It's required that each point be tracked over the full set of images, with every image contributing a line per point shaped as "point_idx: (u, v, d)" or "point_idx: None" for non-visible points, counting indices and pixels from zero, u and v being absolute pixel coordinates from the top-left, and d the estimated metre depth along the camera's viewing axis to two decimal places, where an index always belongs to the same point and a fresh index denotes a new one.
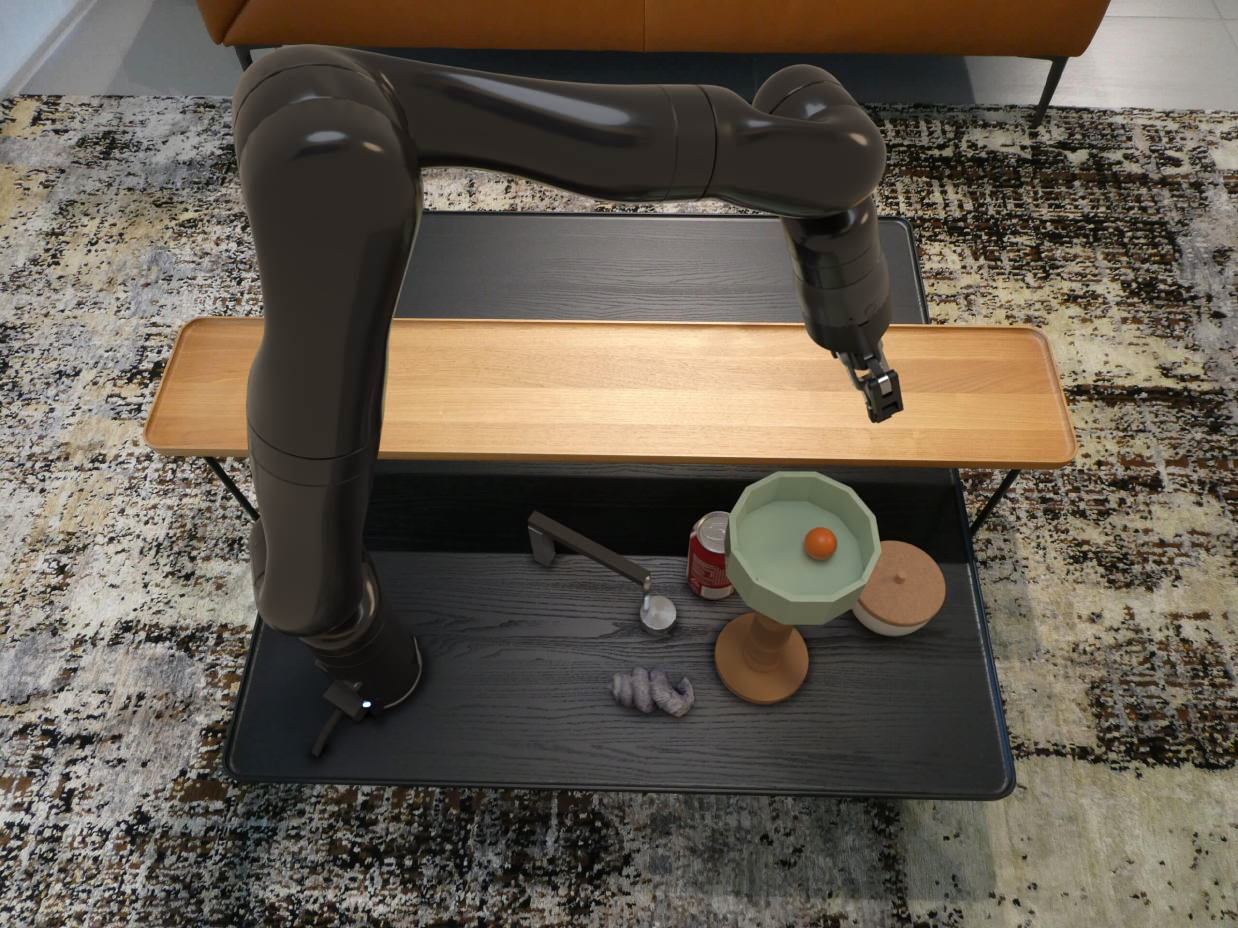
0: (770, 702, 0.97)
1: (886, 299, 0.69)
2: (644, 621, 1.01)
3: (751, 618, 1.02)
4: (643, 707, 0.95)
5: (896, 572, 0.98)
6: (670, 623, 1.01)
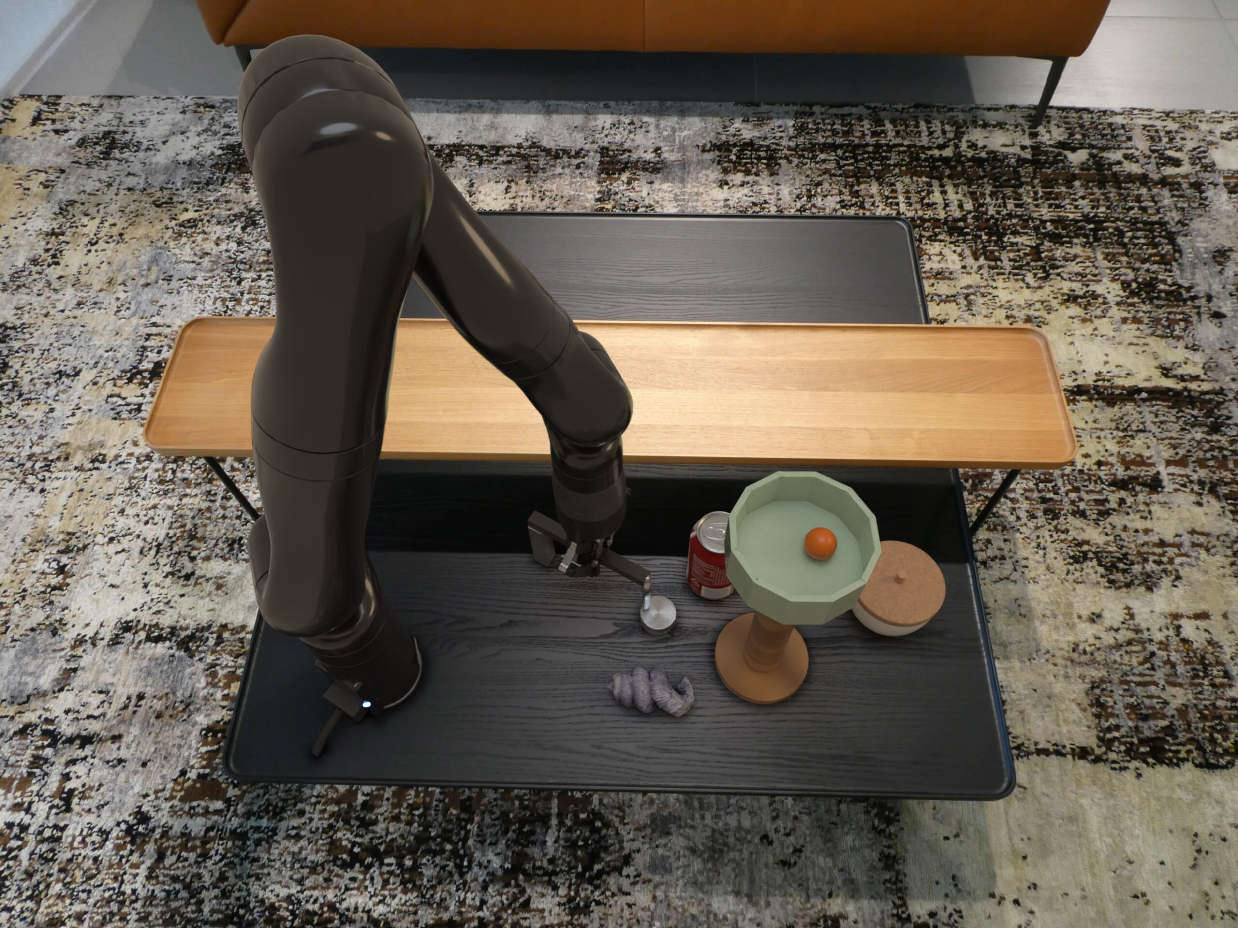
0: (770, 702, 0.97)
1: (597, 521, 0.85)
2: (644, 621, 1.01)
3: (751, 618, 1.02)
4: (643, 707, 0.95)
5: (896, 572, 0.98)
6: (670, 623, 1.01)
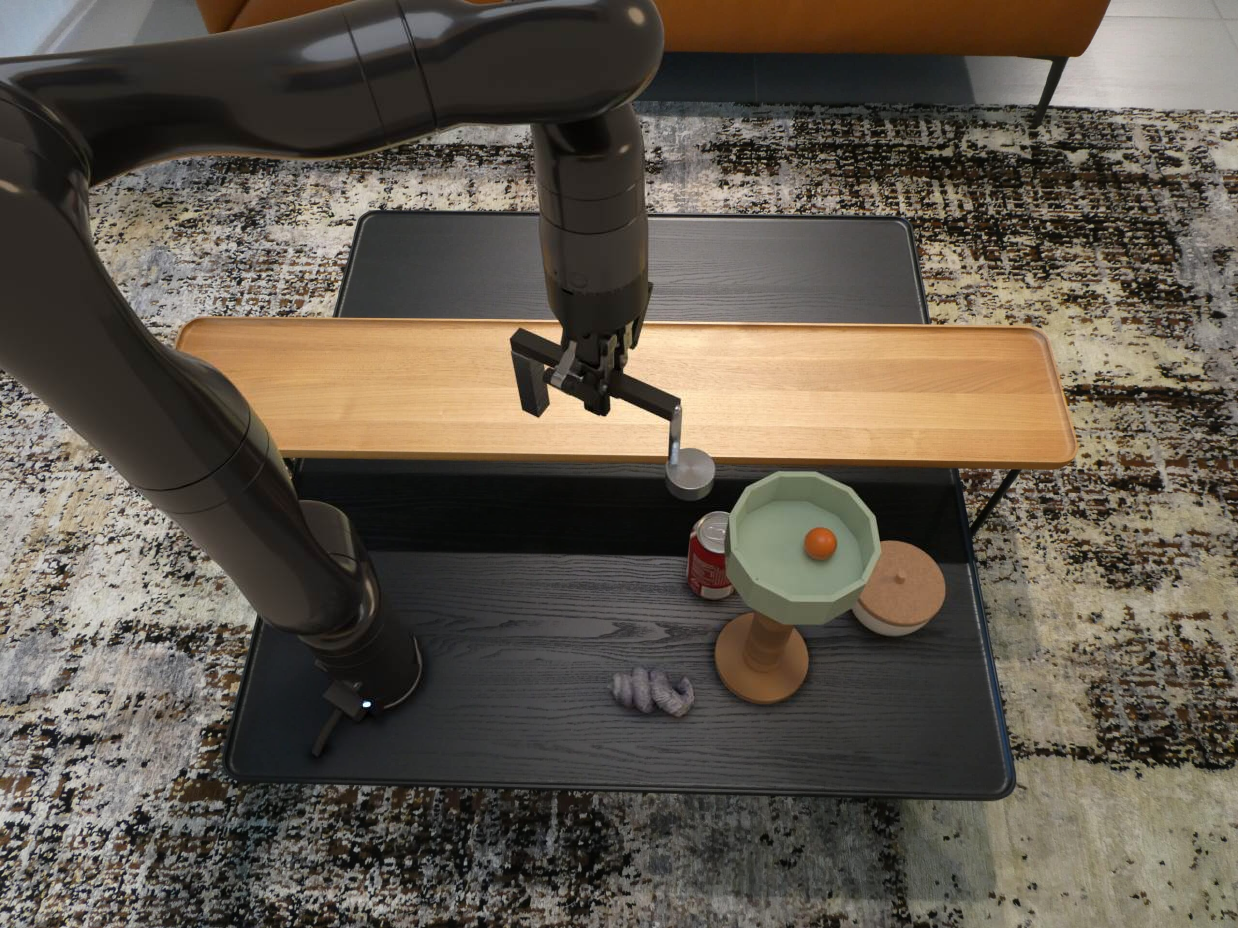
0: (770, 702, 0.97)
1: (606, 293, 0.58)
2: (671, 479, 0.74)
3: (751, 618, 1.02)
4: (643, 707, 0.95)
5: (896, 572, 0.98)
6: (707, 481, 0.74)
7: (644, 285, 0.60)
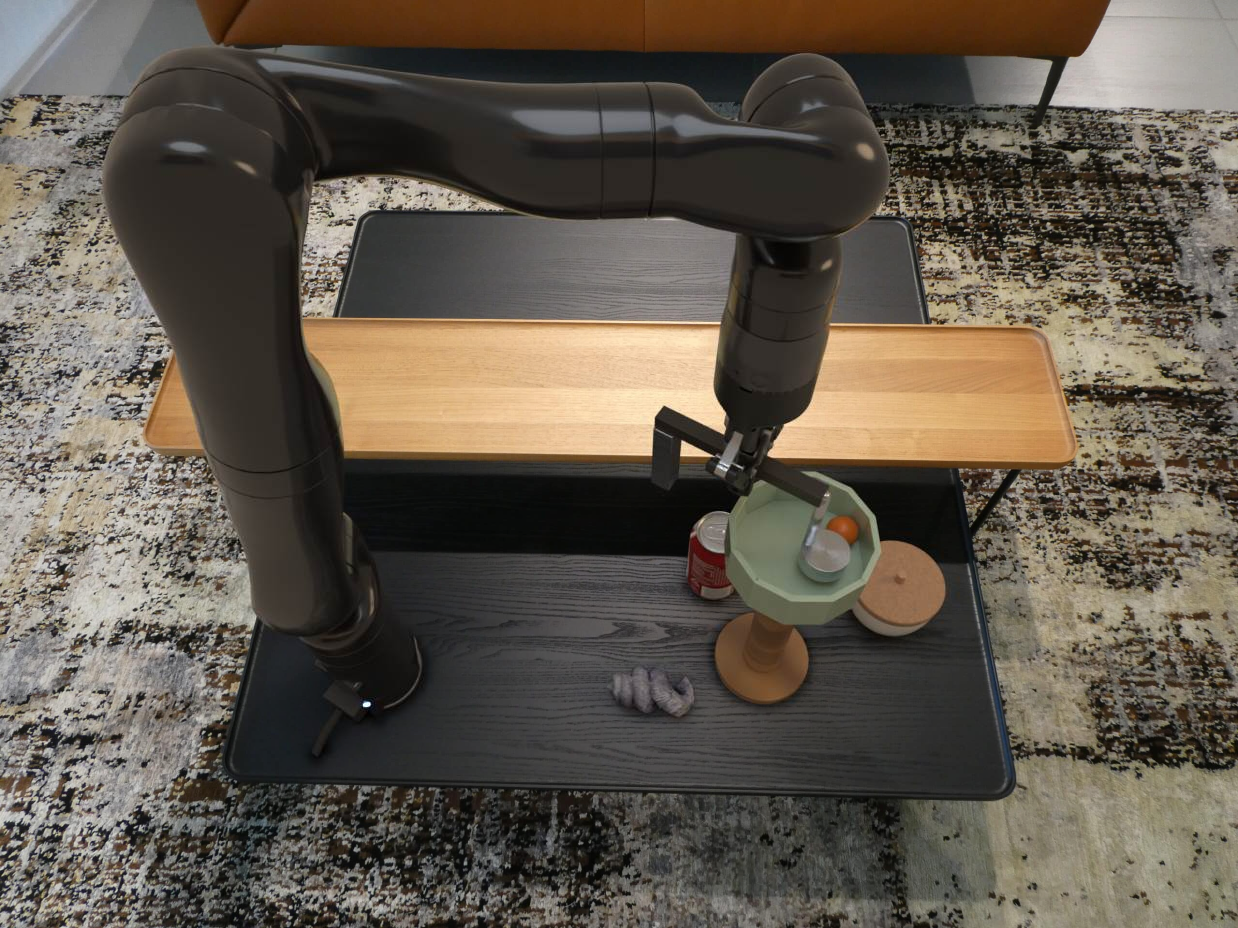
0: (770, 702, 0.97)
1: (785, 393, 0.59)
2: (808, 561, 0.74)
3: (751, 618, 1.02)
4: (643, 707, 0.95)
5: (896, 572, 0.98)
6: (844, 564, 0.74)
7: None
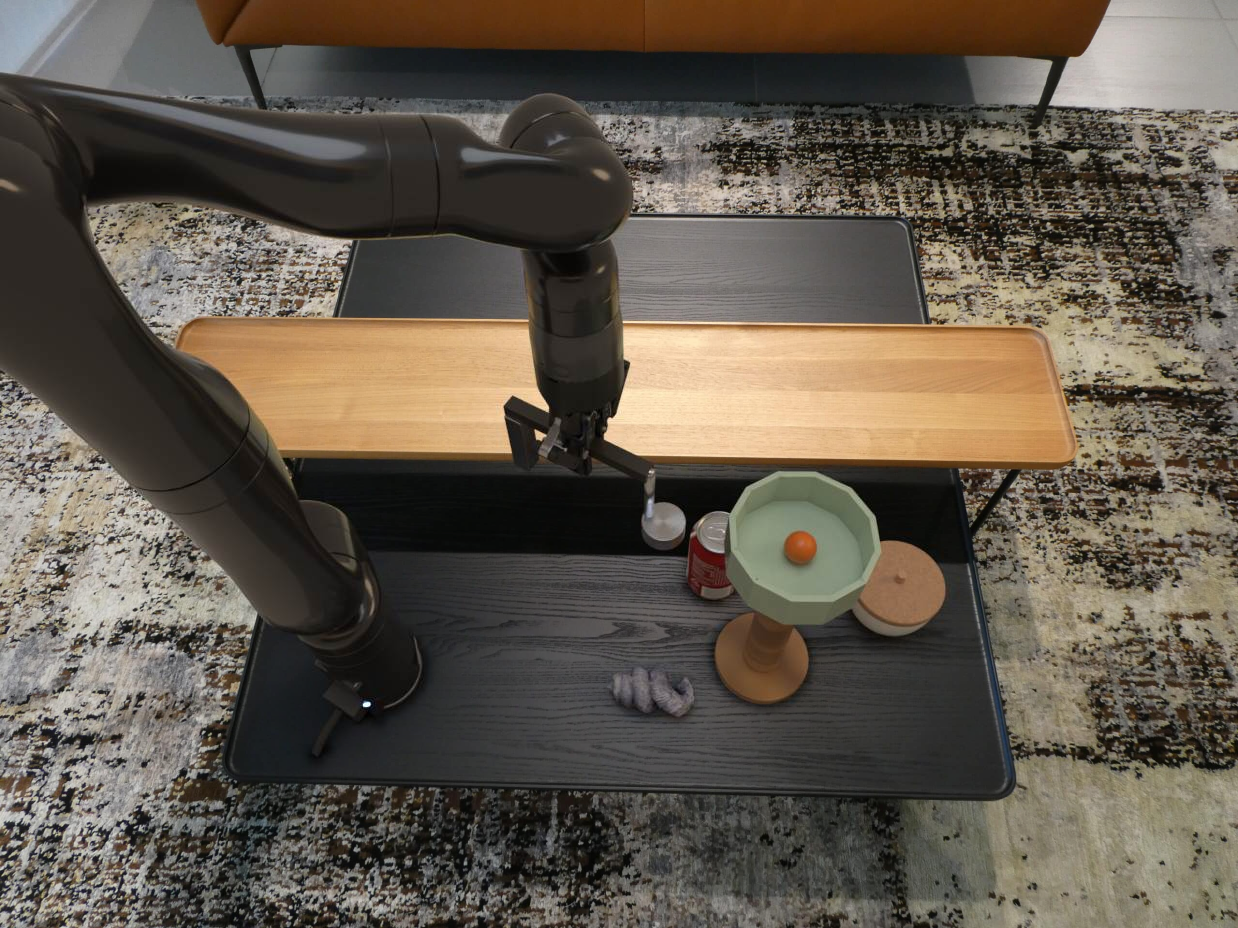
0: (770, 702, 0.97)
1: (586, 382, 0.67)
2: (646, 531, 0.83)
3: (751, 618, 1.02)
4: (643, 707, 0.95)
5: (896, 572, 0.98)
6: (678, 533, 0.83)
7: (620, 372, 0.69)
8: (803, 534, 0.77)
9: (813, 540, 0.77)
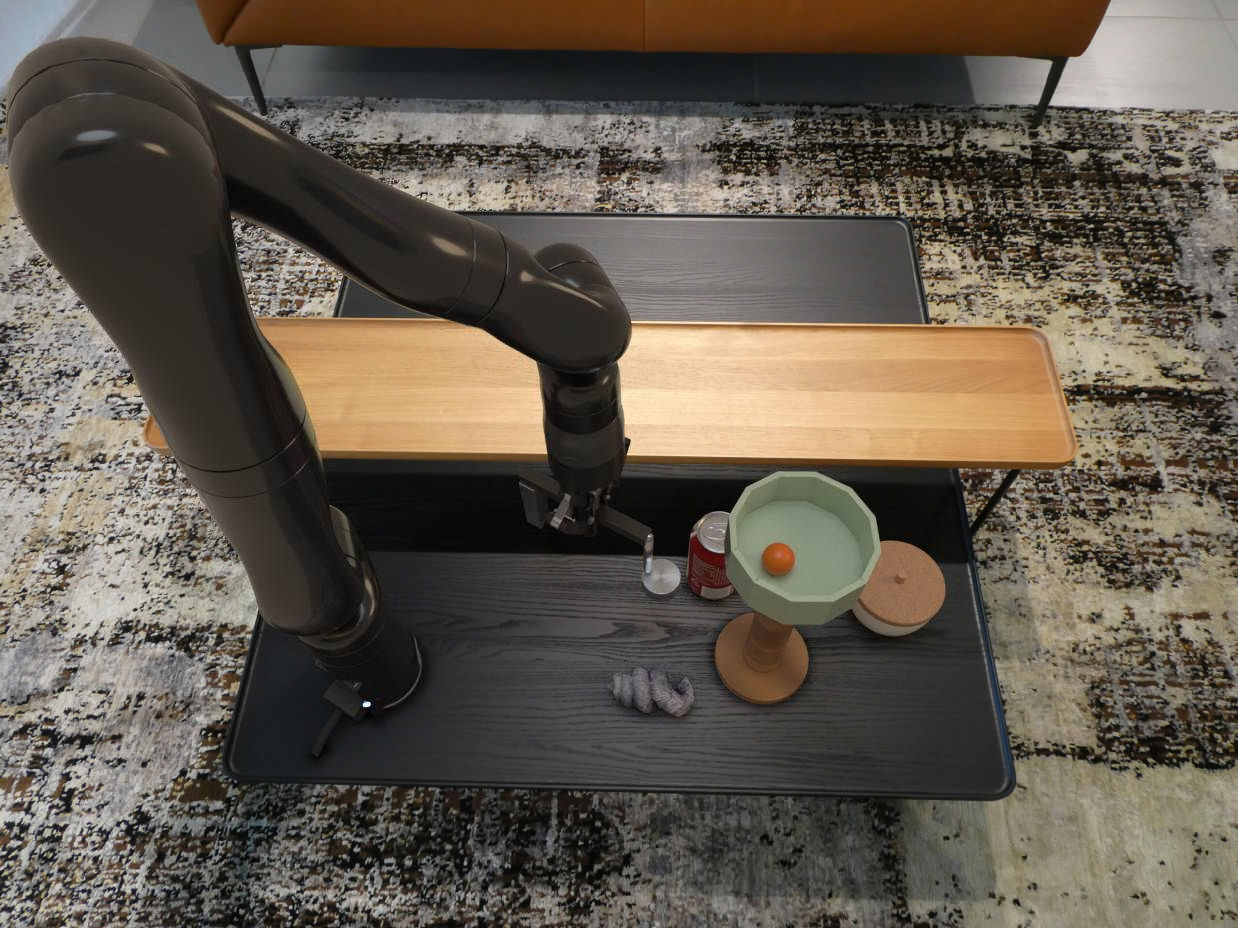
0: (770, 702, 0.97)
1: (593, 468, 0.77)
2: (646, 585, 0.93)
3: (751, 618, 1.02)
4: (643, 707, 0.95)
5: (896, 572, 0.98)
6: (674, 587, 0.93)
7: (621, 457, 0.79)
8: (763, 560, 0.76)
9: (771, 563, 0.76)
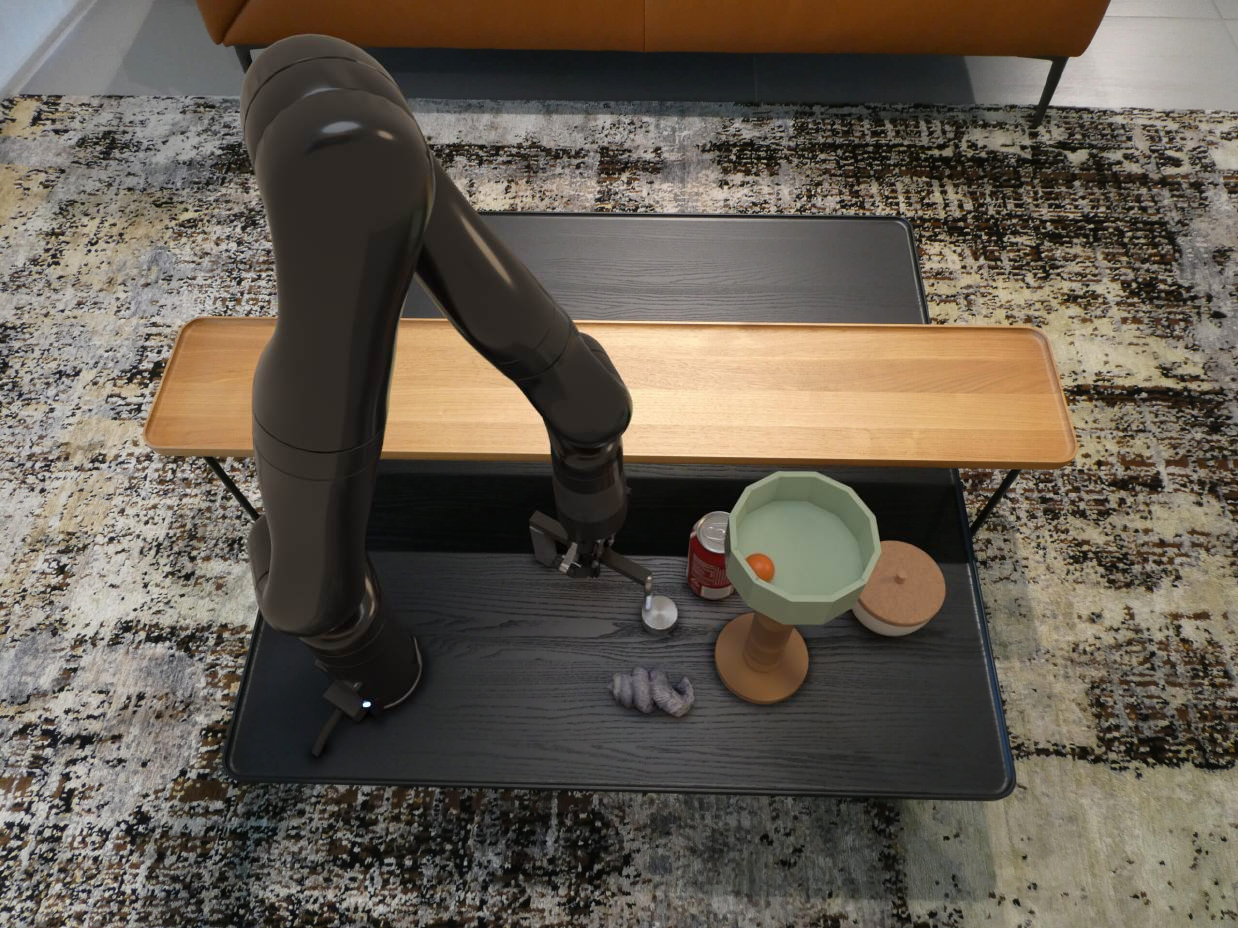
0: (770, 702, 0.97)
1: (597, 522, 0.85)
2: (645, 621, 1.01)
3: (751, 618, 1.02)
4: (643, 707, 0.95)
5: (896, 572, 0.98)
6: (671, 623, 1.01)
7: (623, 510, 0.88)
8: None
9: None
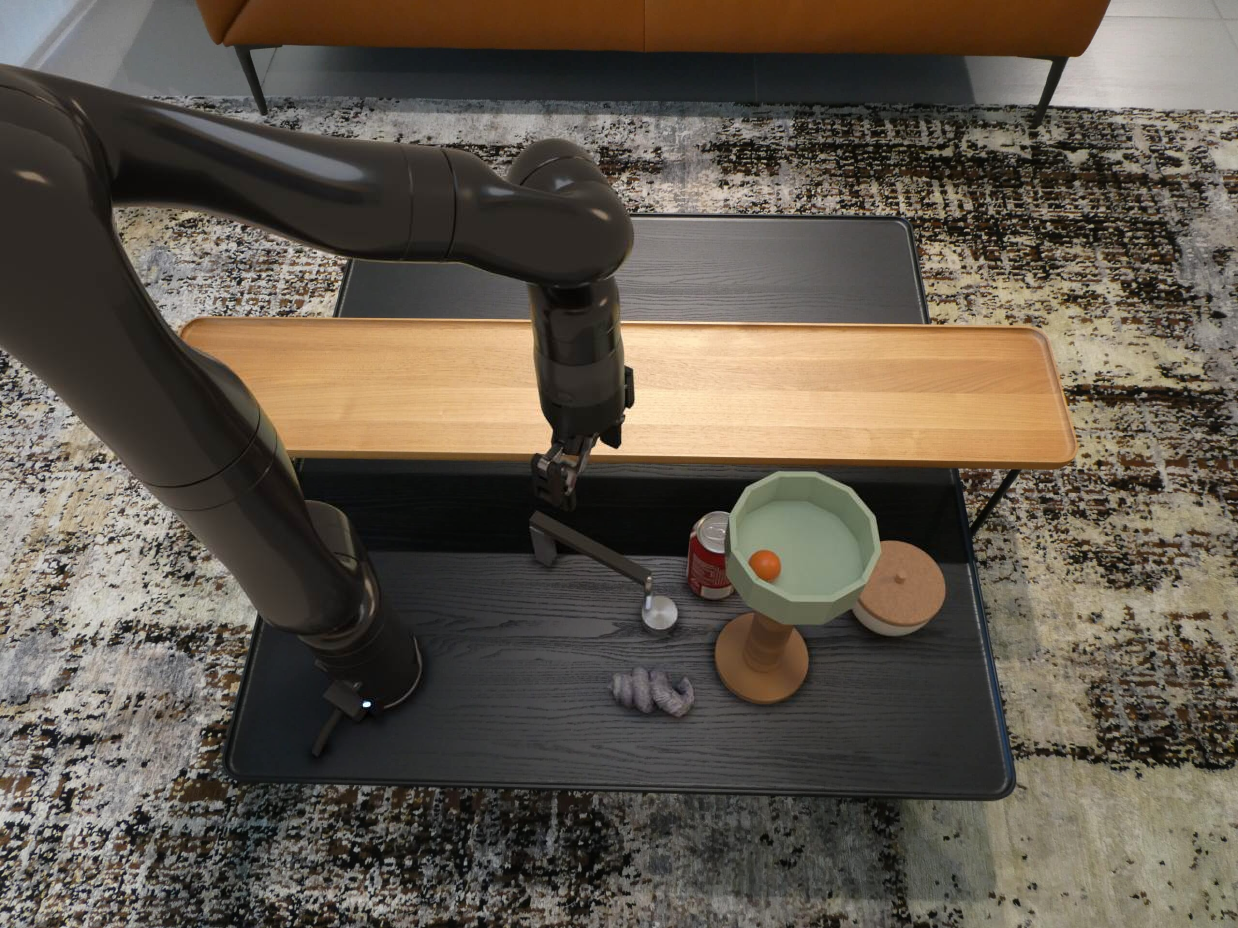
0: (770, 702, 0.97)
1: (589, 407, 0.69)
2: (645, 621, 1.01)
3: (751, 618, 1.02)
4: (643, 707, 0.95)
5: (896, 572, 0.98)
6: (671, 623, 1.01)
7: (621, 397, 0.72)
8: None
9: None
